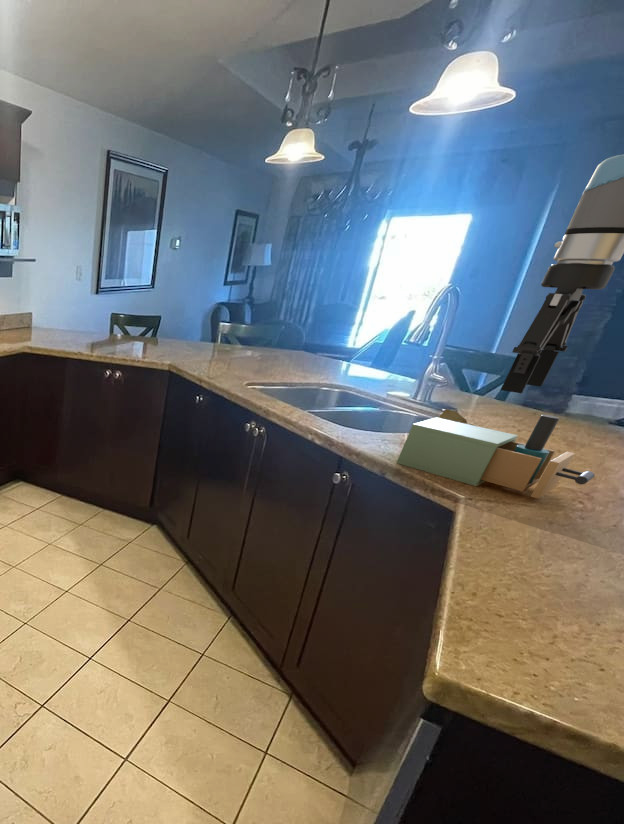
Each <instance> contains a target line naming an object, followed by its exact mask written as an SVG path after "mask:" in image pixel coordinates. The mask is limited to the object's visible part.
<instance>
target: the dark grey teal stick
mask: <svg viewBox="0 0 624 824" xmlns="http://www.w3.org/2000/svg"><path fill="white" fill-rule="evenodd" d="M559 420H560V417H558V416H555V415H550V414H541V415H540V417H539V419H538V421H537V422H536V424H535V426H534V428H533V430H532V431H531V434H530V435H529V437H528V438H527V441H526V443H525V444H526V445H517V447H516V448H515V450H514V452H518V453H522V454H526V455H530V456H534V457H538V458H542V460H541V461H540V463H539V465H538V467H537V469H536V470H535V472H534V474H533V476H532V478H531V479H530V481H529V483H528V484H530V483H533V481H534V479H535V477H536V475H537V474H538V472H539V470H540V468H541V466H542V465H543V463H544V461H545V459H546V458H547V456H548V454H549V451H547V450H545V449H546V448H545V445H546V444H547V443H548V440H549V439H550V437H551V435H552V433H553V431H554V429H555V428H556V426H557V425H558V422H559ZM543 448H545V449H543Z"/></svg>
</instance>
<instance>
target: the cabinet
mask: <svg viewBox="0 0 624 824" xmlns="http://www.w3.org/2000/svg"><path fill="white" fill-rule="evenodd" d="M518 436H519V435H517V434H515V433H509V432H505V431H499V430H496V429H491V428H487V427H483V426H478V425H474V424H473V425H472V424H469V423H467V424H464V423H460V422H455V421H450V420H446V419H441V418H439V417H438V416H437V417H436V416H435V417H432V418H429V419H425V420H423V421H418V422H415V423H412V425H411V427H410V430H409V432H408V435H407V437H406V439H405V442H404V444H403V446H402V448H401V451H400V453H399V455H398V458H397V461H396V464H398V465H402V466H406V467H408V468H412V469H414V470H415V469H416V470H419V471H422V472H426V473H429V474H433V475H436V476H440V477H442V478H446V479H450V480H453V481H457V482H460V483H463V484H467V485H470V486H473V487H478V486H480V485H482V484H484V483H485V482H486V481H484V480H481V478H482V476H483V474H484V472H485V470H486V468H487V466H488V464H489V462H490V460H491V459H492V457H493V455H494V453H495V451H496V449H497V447H499V446H501V445H503V444H506V443H508V442H510V441H514V442H516V440H517V438H518Z"/></svg>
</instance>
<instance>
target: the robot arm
mask: <svg viewBox="0 0 624 824" xmlns="http://www.w3.org/2000/svg"><path fill="white" fill-rule="evenodd" d="M553 246H554V248H556V249H557V250H556V252H555V254H554V256H553V258H552V259H553V260H554V261H556V263H555V264H554V263H553V264H551V265H550V266H548V268H547V270H546V271H545V272H546V273H545V274H544V276H543V279H542V281H541V282H540V286H541V287H543V288H550V289H551V288H552V289H553V288H555V289H556V290H555V292H549V293H548V294H547V295H546V296H545V300H544V302H543V304H542V305H541V307H540V309H539V311H538V312H537V314H536V316H535V318H534V319H533V321H532V323H531V324H530V325H529V328H528V329H527V331H526V332H525V334H524V336H523V338H522V339H521V341H520V343H519V344H518V345H517V346H514V347H513V349H512V352H511V353H514V354H516V357H515V358H514V361H513V363H512V365H511V366H510V369H509V371H508V373H507V376H506V378H505V380H504V382H503V384H502V386H501V387H500V391H504V392H510V393H517V394H522V393H524V391H525V388H526V387H527V385H528V386H533V387H540V388H541V387H543V385H544V383H545V381H546V379H547V377H548V375H549V373H550V371H551V369H552V367H553V365H554V363H555V361H556V359H557V358H558V355H559V353H560V352H566V351H567V349H568V347H569V346H568V345H567V341H568V339H569V336H570V333H571V331H572V328H573V326H574V323H575V321H576V319H577V316H578V314H579V311H580V309H581V308H582V306H583V304H584V301H585V300H586V299H587V297H586V294H583V291H584V290H603V289H605V288H606V286H607V285H608V283H609V281H610V280H611V277H612V275H613V274H614V272H615V269H616V267H615V265H613V264H614V263H615V262H616V263H617V262H619V261H621V259H622V257H623V255H624V153H623V154H618V155H614V156H610V157H608V158H606V159H605V160H603V161H601V162H600V163H599V164H598V165H597V166H596V167H595V170H594V172H593V174H592V176H591V177H590V179H589V181H588V183H587V185H586V187H585V189H584V190H583V192H582V194H581V196H580V199H579V201H578V204H577V205H576V207H575V210H574V212H573V214H572V217H571V219H570V222H569V224H568V226H567V228H566V230H565V232H564V235H563V237H562V240H561V241H556V243H554V245H553Z"/></svg>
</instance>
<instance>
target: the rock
mask: <svg viewBox="0 0 624 824" xmlns="http://www.w3.org/2000/svg"><path fill="white" fill-rule="evenodd" d="M438 418H441V419H446V420H450V421H455V422H460V423H464V424H468V421H467V419H466V418H465V417H463V416H462V415H461V414H460V413H459V412H457V411H456V410H452V409H448V408H446V409H445V410H444V411H443V412H442V413H441V414H440V415H439V417H438Z"/></svg>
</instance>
